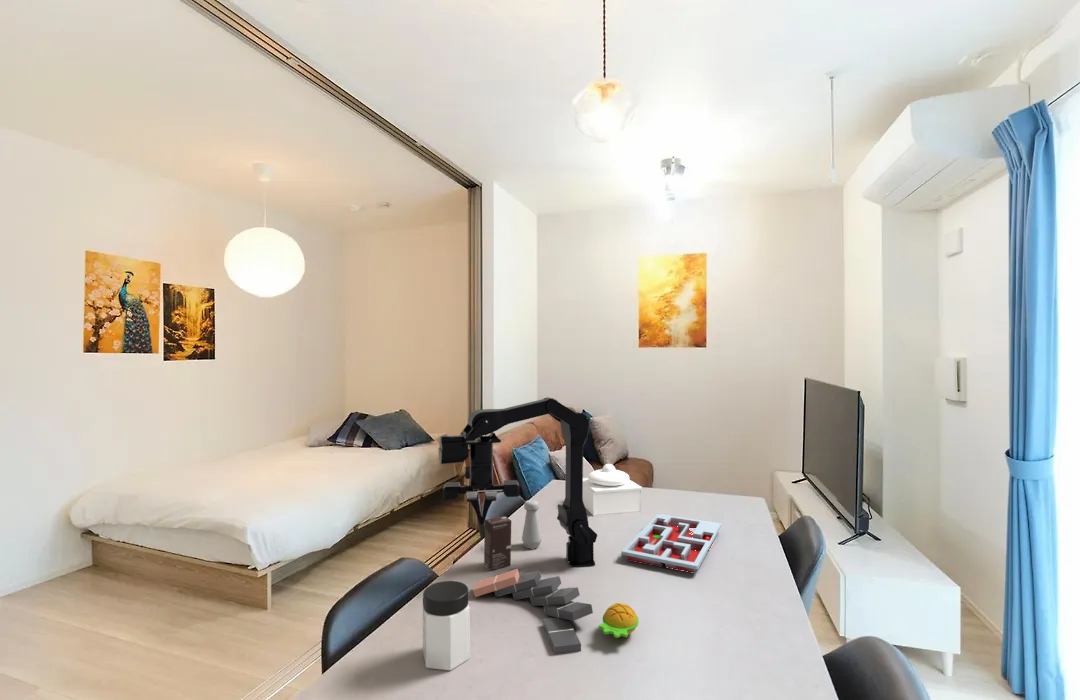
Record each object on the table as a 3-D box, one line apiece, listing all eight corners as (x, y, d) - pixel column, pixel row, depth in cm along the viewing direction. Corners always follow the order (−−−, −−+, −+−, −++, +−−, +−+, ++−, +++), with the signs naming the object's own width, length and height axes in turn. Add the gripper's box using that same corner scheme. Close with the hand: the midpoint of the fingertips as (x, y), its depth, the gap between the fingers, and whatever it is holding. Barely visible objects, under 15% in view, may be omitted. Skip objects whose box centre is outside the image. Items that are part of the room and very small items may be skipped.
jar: (450, 637, 96) (450, 575, 96) (479, 653, 91) (479, 588, 91) (412, 659, 89) (411, 592, 89) (440, 678, 84) (440, 607, 84)
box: (491, 571, 125) (491, 524, 125) (483, 565, 129) (483, 519, 129) (512, 566, 128) (512, 519, 129) (503, 560, 132) (503, 515, 132)
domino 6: (566, 624, 101) (581, 652, 91) (543, 626, 100) (554, 655, 90) (566, 616, 101) (581, 643, 91) (543, 618, 100) (554, 646, 90)
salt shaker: (544, 543, 143) (544, 499, 144) (538, 551, 138) (538, 504, 138) (526, 541, 145) (525, 497, 145) (518, 548, 140) (518, 502, 140)
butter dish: (578, 502, 185) (577, 459, 185) (623, 498, 189) (622, 457, 189) (593, 517, 168) (592, 470, 168) (642, 512, 172) (642, 467, 172)
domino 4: (546, 597, 112) (579, 595, 106) (531, 606, 108) (565, 604, 102) (544, 589, 112) (577, 587, 106) (529, 598, 108) (563, 595, 102)
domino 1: (479, 588, 116) (519, 575, 116) (475, 597, 111) (517, 583, 111) (477, 581, 116) (517, 568, 116) (472, 590, 111) (514, 576, 111)
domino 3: (523, 590, 115) (561, 583, 111) (514, 600, 110) (553, 593, 107) (521, 583, 115) (559, 575, 112) (512, 592, 111) (551, 585, 107)
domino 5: (563, 607, 107) (592, 613, 99) (544, 614, 104) (573, 620, 96) (561, 599, 108) (591, 604, 100) (543, 606, 105) (572, 611, 97)
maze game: (697, 579, 121) (697, 566, 121) (621, 563, 131) (621, 551, 131) (721, 533, 151) (721, 523, 152) (658, 523, 161) (658, 513, 161)
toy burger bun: (643, 627, 99) (643, 600, 99) (628, 654, 90) (628, 625, 90) (610, 619, 102) (610, 593, 102) (593, 644, 93) (592, 616, 93)
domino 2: (501, 587, 116) (541, 576, 115) (495, 597, 111) (536, 586, 110) (499, 580, 117) (538, 570, 115) (493, 590, 112) (534, 578, 110)
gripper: (517, 453, 132) (517, 512, 131) (446, 455, 130) (446, 515, 130) (519, 462, 121) (520, 526, 120) (442, 465, 119) (442, 530, 118)
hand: (481, 524), depth 122 cm, fingers closed
